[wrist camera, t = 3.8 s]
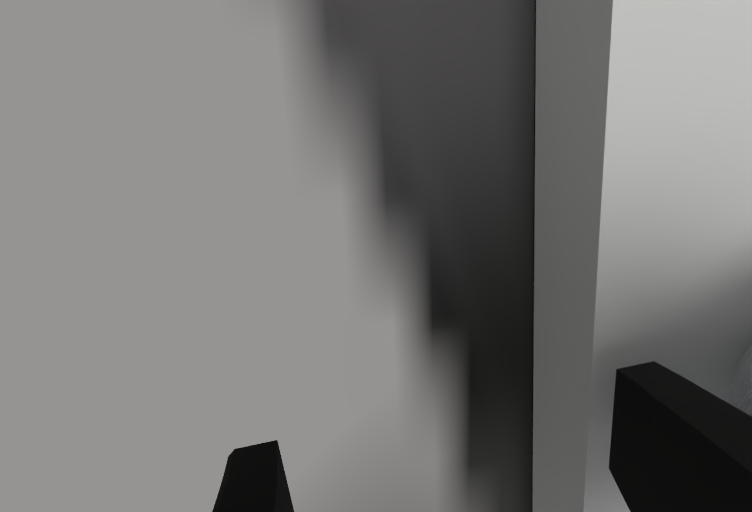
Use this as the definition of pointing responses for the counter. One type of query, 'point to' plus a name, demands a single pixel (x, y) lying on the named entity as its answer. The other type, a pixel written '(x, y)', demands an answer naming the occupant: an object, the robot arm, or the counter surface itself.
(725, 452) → the robot arm
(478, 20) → the counter surface
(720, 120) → the deck
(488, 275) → the counter surface
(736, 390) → the ball
